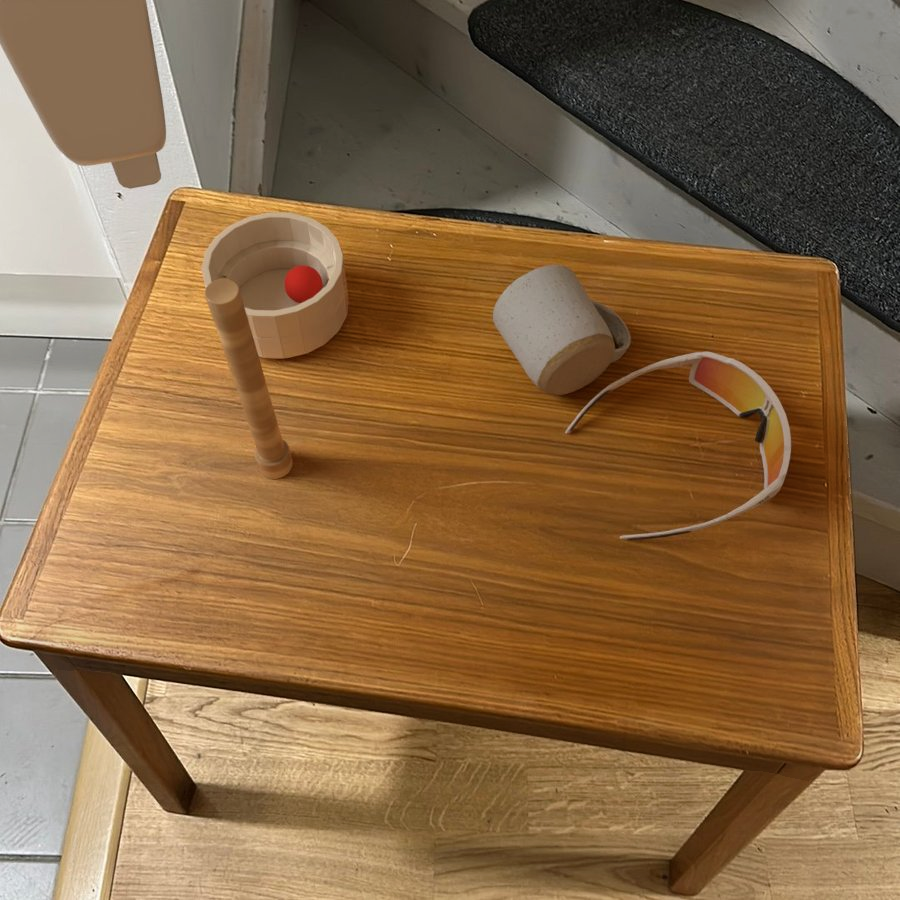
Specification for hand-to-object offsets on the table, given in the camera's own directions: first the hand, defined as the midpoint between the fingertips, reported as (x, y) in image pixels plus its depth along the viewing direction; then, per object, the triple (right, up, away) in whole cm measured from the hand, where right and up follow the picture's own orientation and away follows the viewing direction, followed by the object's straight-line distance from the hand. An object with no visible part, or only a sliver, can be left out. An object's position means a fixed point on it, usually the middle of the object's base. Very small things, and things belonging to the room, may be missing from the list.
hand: (128, 107), depth 43 cm
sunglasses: (+33, -16, +29) cm, 47 cm away
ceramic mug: (+24, -8, +35) cm, 43 cm away
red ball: (+3, -2, +35) cm, 35 cm away
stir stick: (+1, -17, +28) cm, 33 cm away
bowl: (+1, -4, +37) cm, 37 cm away
